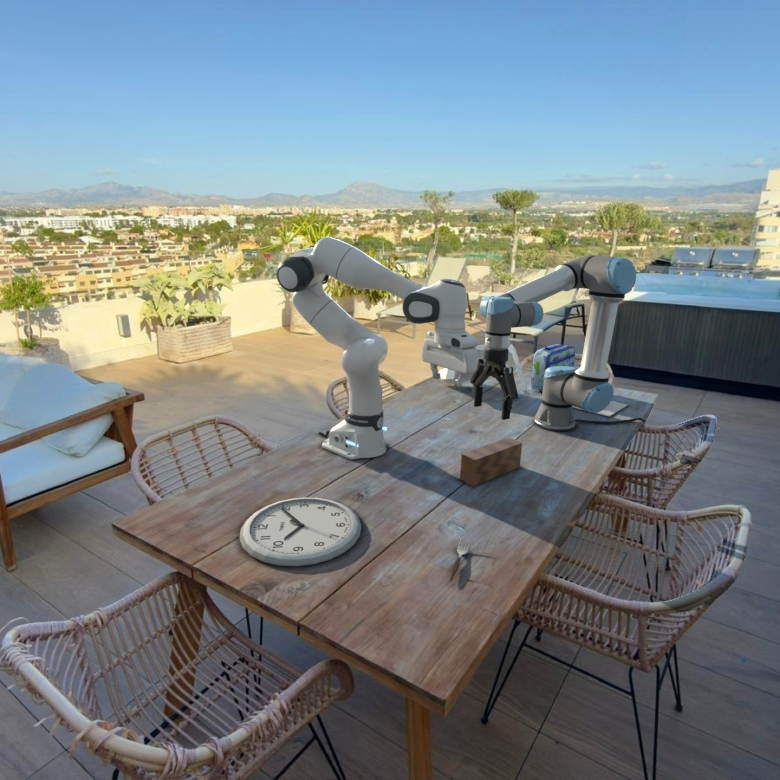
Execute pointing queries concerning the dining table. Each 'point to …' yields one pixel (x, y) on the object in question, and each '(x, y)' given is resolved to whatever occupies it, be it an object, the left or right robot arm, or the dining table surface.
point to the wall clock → (300, 532)
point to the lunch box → (550, 362)
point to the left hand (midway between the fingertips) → (446, 382)
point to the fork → (461, 551)
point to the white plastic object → (451, 376)
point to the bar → (490, 461)
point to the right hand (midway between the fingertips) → (491, 412)
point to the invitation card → (610, 408)
